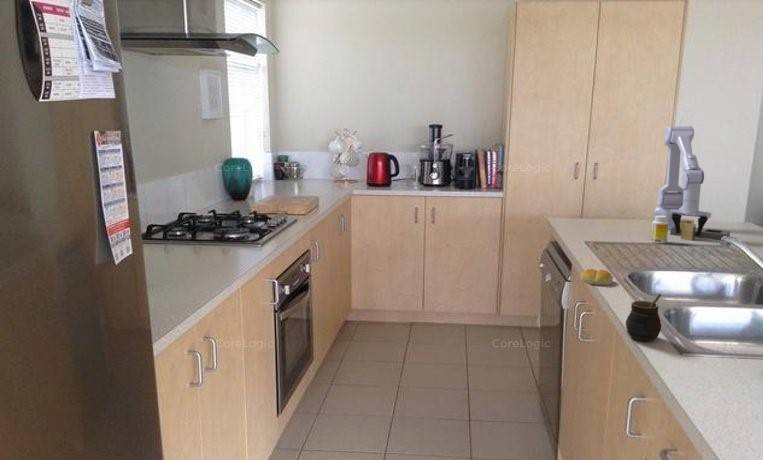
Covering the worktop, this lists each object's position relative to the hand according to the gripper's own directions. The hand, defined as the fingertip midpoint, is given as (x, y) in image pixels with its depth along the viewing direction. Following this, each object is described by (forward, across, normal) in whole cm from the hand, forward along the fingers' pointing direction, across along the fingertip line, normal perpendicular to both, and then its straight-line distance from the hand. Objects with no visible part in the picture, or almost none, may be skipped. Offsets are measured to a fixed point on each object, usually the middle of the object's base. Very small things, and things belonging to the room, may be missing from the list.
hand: (688, 234), depth 235 cm
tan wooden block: (+2, 0, 0) cm, 2 cm away
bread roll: (+2, -4, -82) cm, 82 cm away
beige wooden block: (+2, -3, +9) cm, 10 cm away
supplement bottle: (+2, -7, -13) cm, 15 cm away
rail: (+2, +2, +9) cm, 9 cm away
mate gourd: (+2, +22, -120) cm, 121 cm away
